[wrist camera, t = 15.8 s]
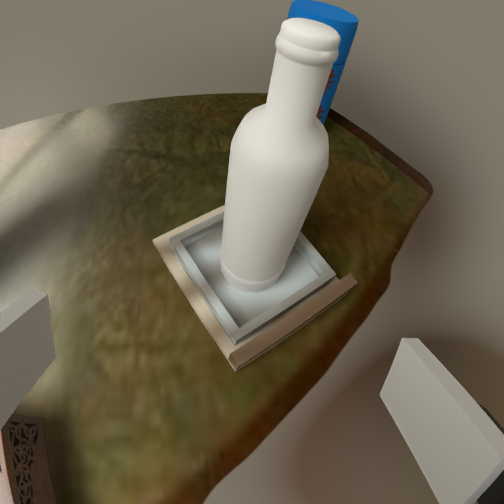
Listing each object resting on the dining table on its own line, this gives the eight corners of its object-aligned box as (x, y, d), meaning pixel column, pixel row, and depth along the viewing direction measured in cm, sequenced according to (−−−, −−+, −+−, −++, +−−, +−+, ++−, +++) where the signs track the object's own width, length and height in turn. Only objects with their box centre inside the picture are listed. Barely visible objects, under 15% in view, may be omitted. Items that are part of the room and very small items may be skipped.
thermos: (329, 142, 58) (372, 27, 37) (277, 145, 56) (309, 17, 34) (307, 109, 63) (338, 4, 42) (259, 110, 60) (281, -4, 39)
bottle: (208, 251, 41) (223, 8, 16) (262, 230, 44) (321, 8, 18) (237, 304, 38) (297, 57, 12) (293, 278, 41) (401, 58, 15)
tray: (153, 243, 43) (149, 227, 39) (260, 192, 49) (264, 174, 46) (235, 371, 36) (238, 366, 32) (346, 294, 42) (357, 282, 39)
